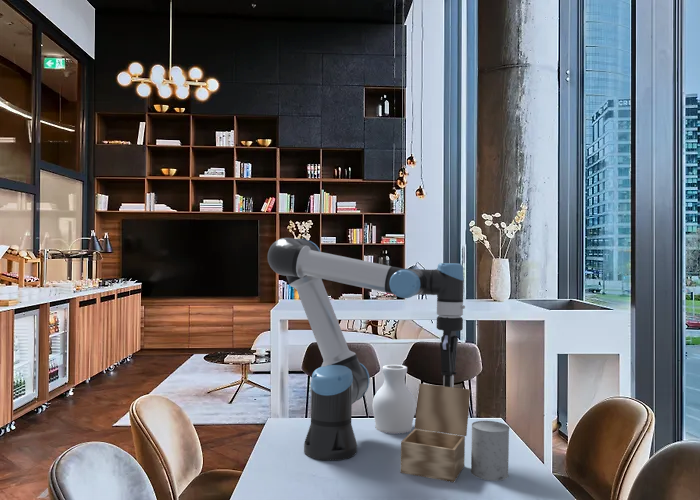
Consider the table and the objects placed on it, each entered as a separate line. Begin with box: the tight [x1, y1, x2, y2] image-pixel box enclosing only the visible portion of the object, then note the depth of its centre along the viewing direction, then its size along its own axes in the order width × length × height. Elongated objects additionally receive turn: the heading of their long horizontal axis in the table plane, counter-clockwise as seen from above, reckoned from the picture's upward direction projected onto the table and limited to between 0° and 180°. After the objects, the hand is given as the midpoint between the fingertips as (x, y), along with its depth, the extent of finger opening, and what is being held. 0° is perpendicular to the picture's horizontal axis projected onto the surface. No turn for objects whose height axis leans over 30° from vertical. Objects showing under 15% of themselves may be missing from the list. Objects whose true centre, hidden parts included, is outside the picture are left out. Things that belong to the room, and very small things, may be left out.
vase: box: [371, 364, 417, 435], centre depth 182 cm, size 14×14×20 cm
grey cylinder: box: [470, 420, 510, 482], centre depth 145 cm, size 10×10×12 cm
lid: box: [413, 383, 471, 437], centre depth 155 cm, size 14×12×1 cm
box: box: [400, 428, 466, 483], centre depth 147 cm, size 14×12×8 cm
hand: (448, 397), depth 161 cm, fingers closed
